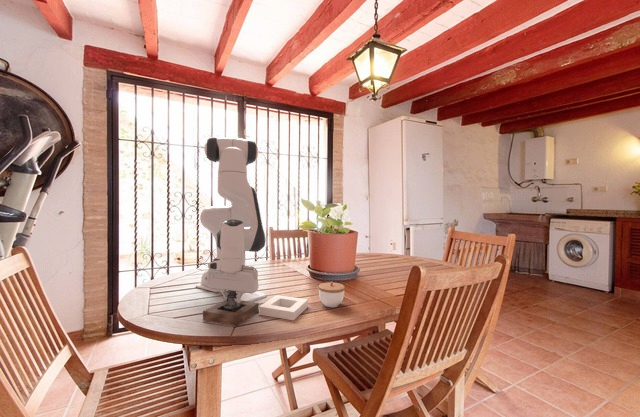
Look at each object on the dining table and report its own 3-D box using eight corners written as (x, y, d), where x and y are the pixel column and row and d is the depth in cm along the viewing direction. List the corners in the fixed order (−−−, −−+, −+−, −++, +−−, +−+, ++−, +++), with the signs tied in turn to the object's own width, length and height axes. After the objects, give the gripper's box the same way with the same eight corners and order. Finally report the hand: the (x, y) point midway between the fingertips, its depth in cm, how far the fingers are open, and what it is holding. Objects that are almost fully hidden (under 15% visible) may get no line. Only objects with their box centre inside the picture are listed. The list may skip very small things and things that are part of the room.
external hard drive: (231, 301, 122) (254, 293, 132) (242, 305, 117) (266, 298, 127) (231, 297, 122) (254, 290, 132) (242, 301, 117) (266, 294, 127)
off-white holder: (259, 314, 107) (259, 306, 107) (276, 302, 121) (276, 295, 120) (293, 320, 103) (293, 312, 103) (307, 306, 116) (308, 299, 116)
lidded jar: (347, 302, 122) (348, 280, 122) (339, 311, 112) (340, 287, 112) (323, 298, 126) (324, 277, 126) (314, 306, 116) (314, 283, 116)
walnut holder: (202, 319, 102) (203, 310, 102) (227, 305, 115) (227, 298, 115) (236, 325, 97) (237, 316, 97) (258, 310, 111) (258, 303, 111)
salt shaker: (243, 315, 107) (243, 282, 106) (229, 319, 102) (229, 286, 102) (234, 310, 110) (235, 279, 110) (220, 315, 106) (220, 282, 106)
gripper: (262, 265, 105) (261, 302, 106) (215, 260, 112) (215, 295, 112) (252, 269, 99) (252, 308, 100) (204, 263, 106) (203, 300, 106)
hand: (232, 301), depth 106 cm, fingers closed on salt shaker, 3 cm apart
